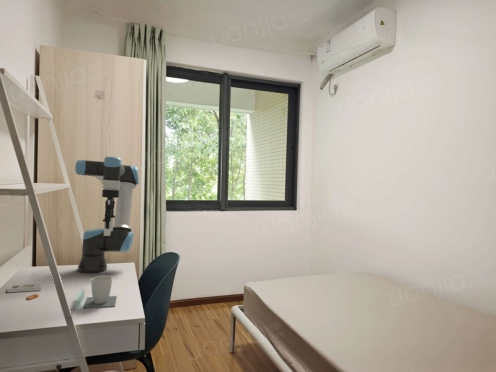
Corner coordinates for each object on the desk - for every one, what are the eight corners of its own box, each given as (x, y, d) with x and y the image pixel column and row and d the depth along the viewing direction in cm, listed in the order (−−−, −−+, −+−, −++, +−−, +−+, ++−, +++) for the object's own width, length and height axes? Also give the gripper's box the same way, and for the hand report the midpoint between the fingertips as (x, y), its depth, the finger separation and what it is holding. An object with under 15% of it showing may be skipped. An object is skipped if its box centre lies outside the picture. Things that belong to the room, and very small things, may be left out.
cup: (115, 300, 138) (116, 277, 138) (100, 306, 131) (102, 282, 131) (100, 296, 141) (101, 274, 141) (85, 302, 134) (87, 279, 134)
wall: (81, 297, 140) (81, 288, 140) (83, 297, 140) (84, 288, 140) (75, 310, 127) (75, 300, 127) (77, 310, 127) (78, 300, 127)
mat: (87, 298, 140) (87, 297, 140) (116, 296, 144) (116, 295, 144) (82, 308, 128) (82, 307, 128) (114, 306, 132) (114, 305, 132)
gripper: (105, 188, 164) (102, 229, 164) (99, 189, 140) (96, 237, 140) (120, 188, 166) (118, 229, 166) (117, 190, 142) (114, 237, 142)
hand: (108, 233), depth 153 cm, fingers open, 13 cm apart
